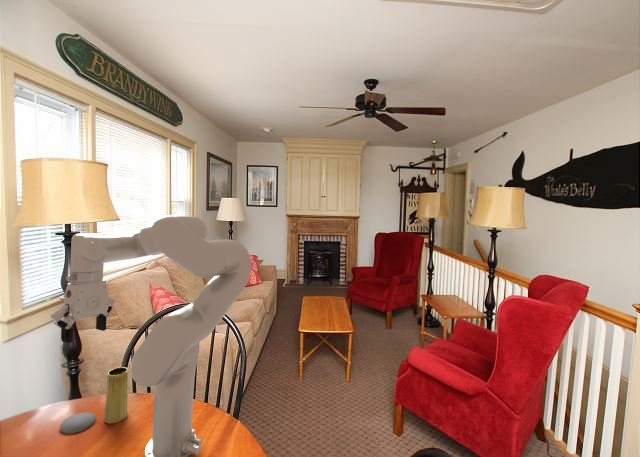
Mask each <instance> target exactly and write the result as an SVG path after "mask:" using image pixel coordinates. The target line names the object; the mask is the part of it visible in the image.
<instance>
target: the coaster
mask: <svg viewBox="0 0 640 457" xmlns="http://www.w3.org/2000/svg"><path fill="white" fill-rule="evenodd" d="M95 421H96V414H94V413H93V412H87V411H86V412H79V413H76V414H73V415H70V416H69V417H67V418H65V419H64V420H63V421H62V422H61V423H60V426H59V430H60V431H59V432H61V433H62V434H66V435H69V434H77V433H80V432H83V431H84V430H87V429H89V428H90V427H91V426H93V424H94V423H95Z"/></svg>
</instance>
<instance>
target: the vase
mask: <svg viewBox="0 0 640 457" xmlns="http://www.w3.org/2000/svg"><path fill="white" fill-rule="evenodd" d="M128 375H129V368H128V367H124V366H118V367H115V368H112V369H110V370H108V371H107V376H106V377H107V378H106V394H105V408H104V416H103V422H104V423H105V424H117V423H119V422H121V421H123V420H125V419H126V418H127V417H128V414H129V413H128V384H129V383H128V382H129V381H128V378H129V376H128Z"/></svg>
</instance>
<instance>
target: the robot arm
mask: <svg viewBox="0 0 640 457" xmlns="http://www.w3.org/2000/svg"><path fill="white" fill-rule="evenodd" d="M207 237H208V226H207V224H206V223H205V222H204V221H203V219H201V218H200V217H198V216H194V215H186V214H185V215H183V214H182V215H180V214H179V215H177V214H174V215H173V214H169V215H163V216H161V217H159V218H157V219H156V220H155V221H154V222H152V223H148V224H145V225H144V226H143V227H142V228H141V230H140V231H139V232H134V233H133V232H132V233H123V234H105V235H102V234H100V233H91V232H85V233H83V232H82V233H81V232H80V233H75V234H74V235H72V237H71V241H70V242H71V246H70V272H69V275H66V276H65V279H66V281H68V283H67V284H66V288H65V292H64V297H63V304H62V305H63V306H62V307H61V308H60V309H57V310H56V311H55V312H53V313H52V314H50V318H51V320H52V321H53V324H54V325H56V326H57V327H58V328H60V339H61V342H63V343H68V344H71V343H72V342H73V339H74V338H73V337H74V336H73V335H74V333H73V332H74V327H72V326H73V325H74V323H75V322H76V321H82V320H85V319H89V318H92V317H94V316H96V319H95V320H96V321H95V329H96V330H97V331H98V330H99V331H103V332H104V331H107V320H108V319H107V318H108V317H109V315H110V312H111V311H112V310H113V306H114V304H115V302H116V300H115V299H113V298H110V297H109V291H108V284H107V280H106V278H105V279H104V263H112V262H118V261H119V262H120V261H126V260H133V259H138V258H143V257H148V256H158V255H162V254H163V255H165V256H166V257H167V258H169V260H171V261H172V262H174V263H175V264H177V265H178V266H179V267H180V268H181V269H183V270H185V271H186V272H187V273H189V274H190V275H192V276H194V277H197V278H199V279H210V278H211V279H210V280H209V281H208V282H207V283H206V284H205V285H204V286H203V287H202V289H201V290H200V292H199V293H198V295H197V296H196V297H195V298H194V299H193V300H192V301H191V302H190V303H189V304H188V305H185V306H183V307H181V308H178V309H176V310H174V311H172V312H170V313H167V314H166V315H164V316H163V317H162V318H161V319H160V320H158V322H157V323H156V324H155V326H153V328H152V329H151V331H150V332H149V333H148V334H147V336H146V337H145V338H144V340H143V342H142V343H141V344H140V346H138V348H137V349H136V351H135V352H134V354H133V356H132V358H131V362H130V374H131V377H132V379H133V382H135V383H136V384H137V385H138V386H141V387H147V388H148V387H149V388H150V387H154V394H153V395H154V396H153V397H154V398H153V416H152V431H151V432H152V435H151V437H152V438H151V439H150V440H149V441H148V443H147V444H146V446H145V448H144V457H189V456H191V455H192V454H193V455H195V456H198V455H199V453H200V452H201V448H202V447H201V445H202V443H203V439H201V438H198V437H197V435H196V430H195V428H192V426H193V407H194V406H193V405H194V393H195V391H194V388H195V377H196V370H197V364H198V360H199V357H200V348H201V347H200V342H201V343H202V341H204V340H205V339H207V337H209V336H210V335H211V334H212V333H213V331H214V330H215V328H216V327H217V326H218V324H219V323H220V322H221V320H222V319H223V318H224V317H225V315H226V314H227V312H228V311H229V310H230V308H231V307H232V306H233V304H234V303H235V302H236V300H237V299H238V298H239V297H240V295H241V294H242V293H243V290H244V289H245V287H246V286H247V284H248V282H249V278H250V275H251V271H252V262H251V257H250V254H249V251H248V249H247V248H246V246H245V245H244V244H243V243H241V242H240V241H238V240H235V239H229V238H227V239H226V238H225V239H216V240H215V239H213V240H206V239H207ZM62 316H63V319H62Z"/></svg>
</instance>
